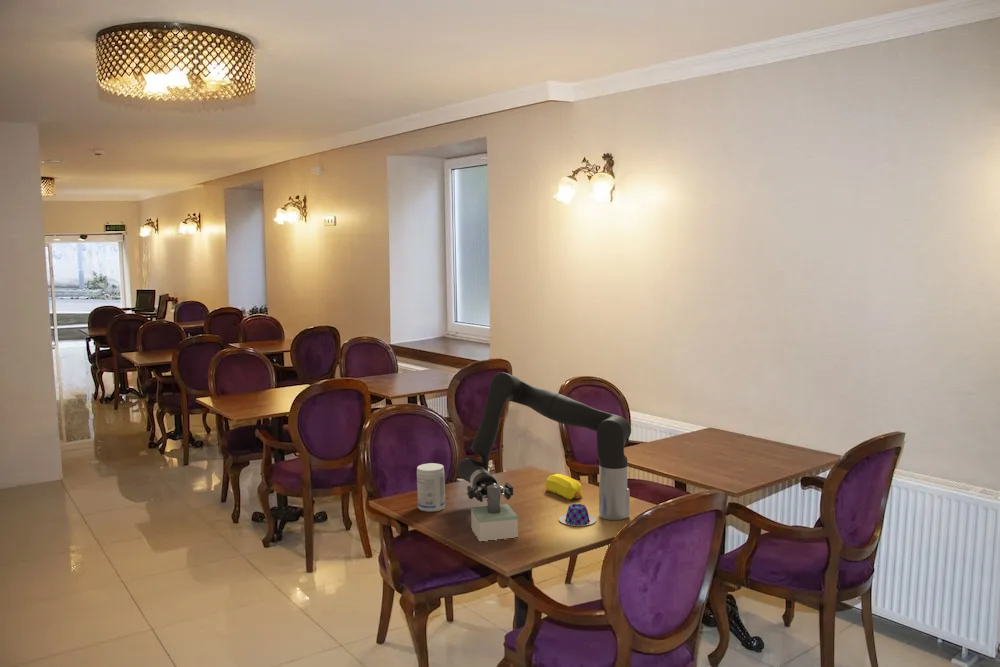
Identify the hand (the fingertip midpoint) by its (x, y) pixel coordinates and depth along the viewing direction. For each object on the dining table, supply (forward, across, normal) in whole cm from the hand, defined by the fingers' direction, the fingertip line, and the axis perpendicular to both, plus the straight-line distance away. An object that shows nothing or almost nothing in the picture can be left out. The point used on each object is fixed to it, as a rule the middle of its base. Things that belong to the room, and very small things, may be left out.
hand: (495, 497), depth 237 cm
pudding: (-6, +29, +13) cm, 32 cm away
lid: (-2, 0, +8) cm, 8 cm away
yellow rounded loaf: (-34, +34, +12) cm, 50 cm away
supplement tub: (-32, -15, +12) cm, 37 cm away
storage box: (-2, 0, +12) cm, 12 cm away
